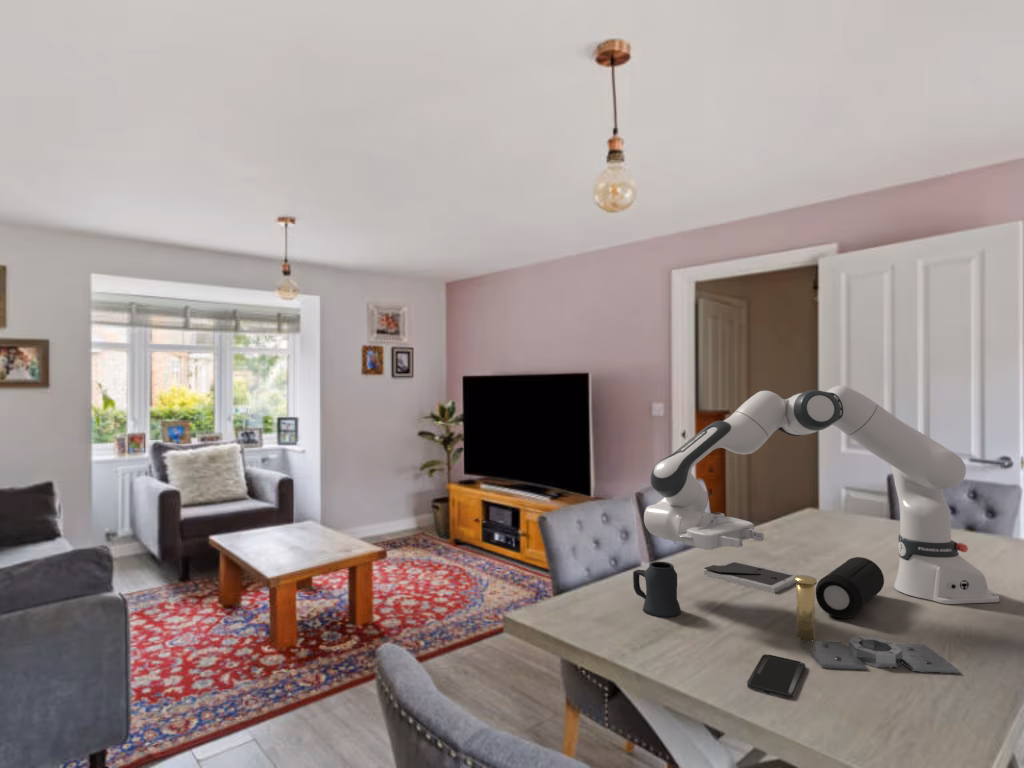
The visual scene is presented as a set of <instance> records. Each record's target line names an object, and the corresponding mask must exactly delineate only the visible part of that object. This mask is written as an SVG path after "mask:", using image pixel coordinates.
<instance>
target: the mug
mask: <svg viewBox="0 0 1024 768" xmlns="http://www.w3.org/2000/svg"><path fill="white" fill-rule="evenodd" d="M632 574H633V575H632V579H633V581H632V583H633V589H634V592H635V594H636V595H637V596H639V597H641V598H642V599H644V603H643V606H642V611H643V613H645V614H646V615H647V616H648V615H649V616H651V617H654V618H661V619H662V618H663V619H666V618H667V619H671V618H676V617H679V616H680V615H682V614H681V613H682V611H681V606H680V603H679V601H678V573H677V572H676V570H675V567H674V564H672V563H671V562H668V561H652V562H650V563H649V564H648V567H647V568H646V570H645V569H635V570H633V571H632ZM640 576H641V577H643V578H644V580H645V586H646V589H645V590H646V592H644V591H643V589H641V586H640V584H641V583H640ZM645 593H646V594H645Z"/></svg>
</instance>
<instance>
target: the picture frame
mask: <svg viewBox="0 0 1024 768" xmlns="http://www.w3.org/2000/svg"><path fill="white" fill-rule="evenodd" d="M703 575H704V576H705V575H707V576H706V577H709V576H710V577H709V578H712V577H714V578H713V579H716V578H718V579H717V580H720V579H721V580H720V581H724V580H725V582H728V581H729V583H732V582H733V583H732V584H735V583H737V584H736V585H739V584H741V585H740V586H743V585H744V586H743V587H747V586H748V588H751V587H753V588H752V589H755V588H756V590H759V589H760V591H762V590H764V591H763V592H766V591H768V592H767V593H770V592H772V593H771V594H774V593H775V594H777V593H778V592H777V591H779V592H781V591H783V590H785V589H787V588H789V587H791V586H794V585H796V584H795V583H796V582H794V576H797V575H798V574H795V573H792V572H786V571H783V570H778V569H773V568H771V567H770V568H768V567H766V566H761V565H756V564H753V563H748V562H743V561H738V560H734V559H732V560H729V561H725V562H723V563H721V564H717V565H715V564H713V565H710V566H709V565H708V566H706V567H704V570H703ZM793 584H794V585H793ZM790 585H791V586H790ZM788 586H789V587H788ZM786 587H787V588H786ZM784 588H785V589H784ZM782 589H783V590H782ZM780 590H781V591H780ZM776 592H777V593H776Z"/></svg>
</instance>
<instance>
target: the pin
mask: <svg viewBox="0 0 1024 768" xmlns="http://www.w3.org/2000/svg"><path fill="white" fill-rule="evenodd" d="M796 575H797V576H794V582H796V584H795V585H796V592H795V593H796V637H797V638H798V639H799V638H800V639H799V640H801V639H803V640H813V641H816V635H815V634H816V627H815V626H816V622H815V620H816V619H815V614H816V611H815V585H816V586H817V584H818V582H817V581H818V580H817V578H816V577H813V576H809V575H803V574H796Z"/></svg>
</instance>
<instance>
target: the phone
mask: <svg viewBox="0 0 1024 768" xmlns="http://www.w3.org/2000/svg"><path fill="white" fill-rule="evenodd" d="M805 671H806V663H804V662H802V661H799V660H795V659H790V658H786V657H783V656H782V657H781V656H777V655H772V654H765V653H764V654H762V655H761V657H760V659H759V661H758V662H757V664H756V666H755V667H754V669H753V670H752V672H751V674H750V676H749V678H748V679H747V681H746V687H747V689H749V690H751V691H755V692H759V693H763V694H767V695H770V696H774V697H778V698H781V699H786V700H792V699H794V698H795V696H796V693H797V691H798V688H799V685H800V683H801V681H802V679H803V675H804V674H805Z"/></svg>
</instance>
